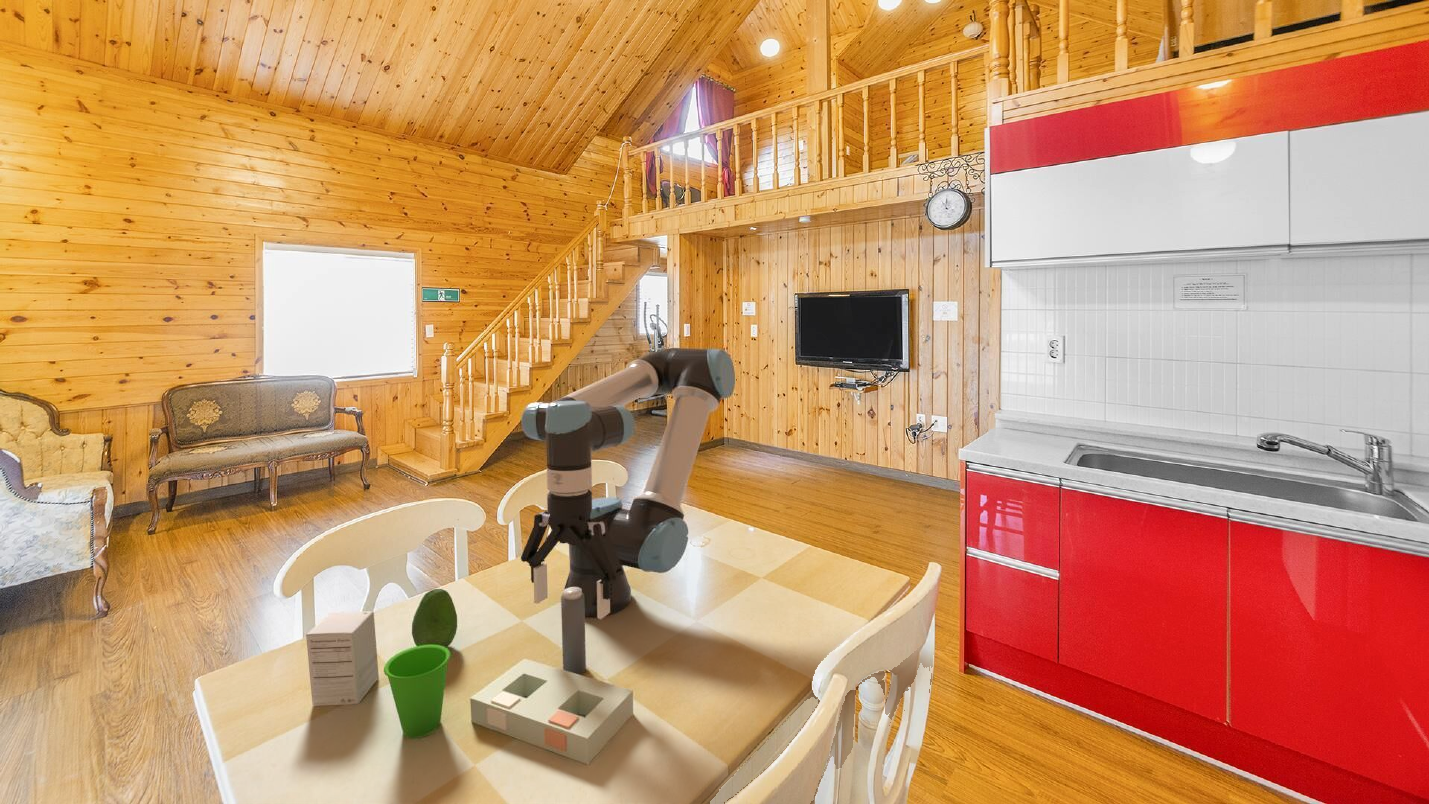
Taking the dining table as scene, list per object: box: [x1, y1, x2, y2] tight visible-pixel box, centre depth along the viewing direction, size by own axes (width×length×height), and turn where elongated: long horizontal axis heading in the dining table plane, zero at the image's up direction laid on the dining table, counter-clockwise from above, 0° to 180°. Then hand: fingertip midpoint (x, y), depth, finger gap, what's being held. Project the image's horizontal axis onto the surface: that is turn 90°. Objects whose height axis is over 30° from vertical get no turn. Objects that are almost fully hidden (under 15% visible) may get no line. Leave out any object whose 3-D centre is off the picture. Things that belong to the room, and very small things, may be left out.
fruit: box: [411, 588, 458, 649], centre depth 110 cm, size 8×8×12 cm
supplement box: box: [305, 610, 380, 707], centre depth 97 cm, size 7×7×13 cm
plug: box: [560, 587, 587, 675], centre depth 104 cm, size 4×4×15 cm
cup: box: [383, 645, 451, 739], centre depth 89 cm, size 9×9×11 cm
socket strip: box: [469, 658, 634, 765], centre depth 91 cm, size 22×12×4 cm, turn 66°
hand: (571, 607), depth 103 cm, fingers open, 13 cm apart
